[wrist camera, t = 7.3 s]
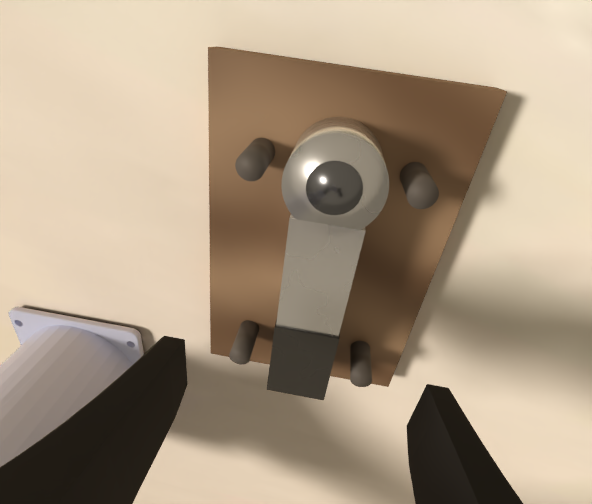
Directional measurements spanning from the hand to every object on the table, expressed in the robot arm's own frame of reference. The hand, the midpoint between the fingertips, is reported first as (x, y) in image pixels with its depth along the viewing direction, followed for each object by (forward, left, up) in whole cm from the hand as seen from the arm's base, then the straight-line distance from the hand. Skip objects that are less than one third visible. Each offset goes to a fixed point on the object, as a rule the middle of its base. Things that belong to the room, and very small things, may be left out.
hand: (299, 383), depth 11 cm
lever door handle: (+1, 0, -6) cm, 6 cm away
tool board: (+1, 0, -7) cm, 7 cm away
